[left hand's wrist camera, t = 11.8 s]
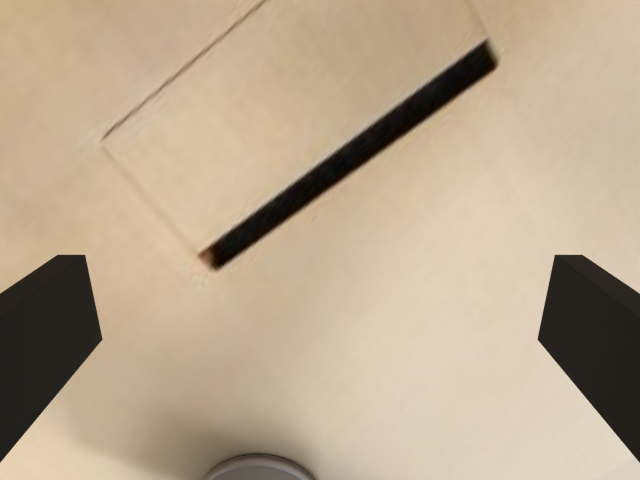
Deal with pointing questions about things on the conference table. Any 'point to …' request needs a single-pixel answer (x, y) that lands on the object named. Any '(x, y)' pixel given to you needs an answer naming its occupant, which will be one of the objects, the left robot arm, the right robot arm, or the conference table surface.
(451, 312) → the conference table surface
